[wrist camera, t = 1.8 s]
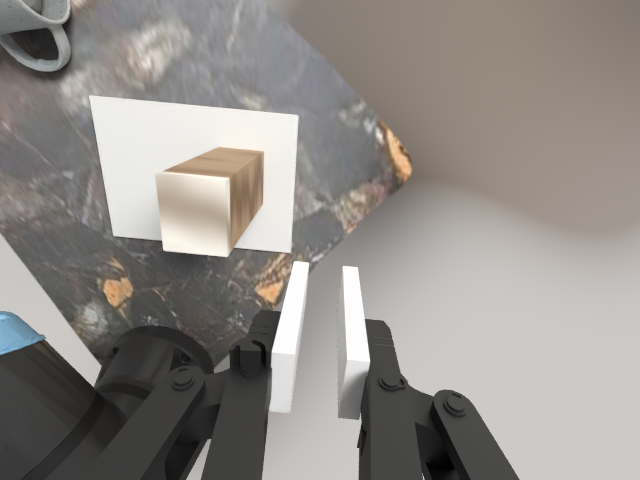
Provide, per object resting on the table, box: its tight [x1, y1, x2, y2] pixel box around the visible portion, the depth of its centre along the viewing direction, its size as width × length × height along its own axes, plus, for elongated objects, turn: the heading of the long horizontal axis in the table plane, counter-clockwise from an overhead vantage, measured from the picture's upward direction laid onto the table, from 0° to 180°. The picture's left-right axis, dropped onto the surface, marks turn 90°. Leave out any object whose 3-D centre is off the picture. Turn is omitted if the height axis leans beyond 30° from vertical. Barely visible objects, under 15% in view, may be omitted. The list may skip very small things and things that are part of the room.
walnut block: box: [155, 147, 264, 257], centre depth 31 cm, size 6×5×14 cm
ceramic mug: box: [0, 0, 71, 72], centre depth 29 cm, size 11×8×8 cm
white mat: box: [89, 96, 299, 253], centre depth 38 cm, size 16×22×1 cm
